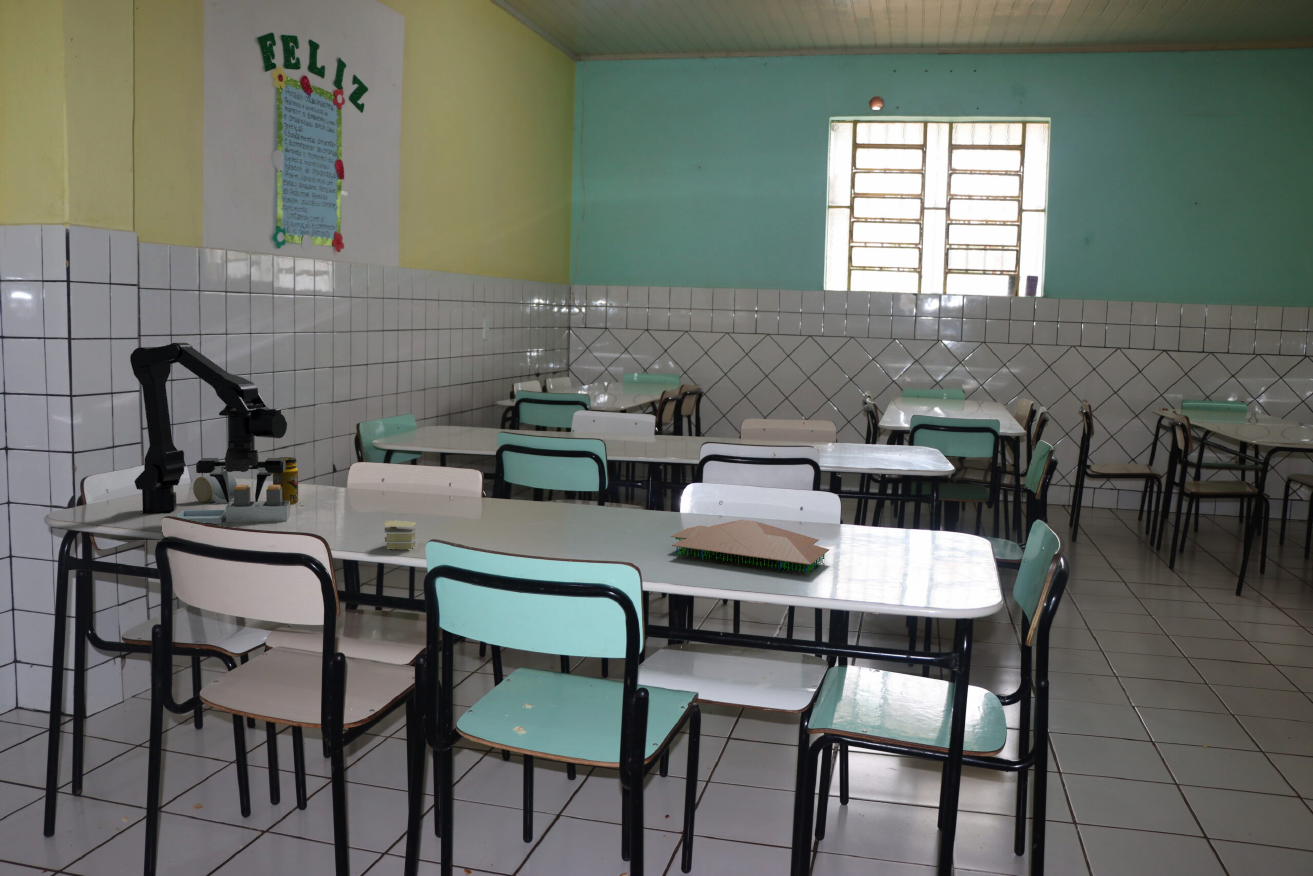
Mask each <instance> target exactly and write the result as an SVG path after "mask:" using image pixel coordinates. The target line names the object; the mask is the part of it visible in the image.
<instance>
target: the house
mask: <svg viewBox="0 0 1313 876" xmlns="http://www.w3.org/2000/svg"><path fill="white" fill-rule="evenodd" d="M670 538H674V539H675V540H679V541H677V542H675V543H672V544H671V547H676V552H675V553H676V555H677V556H678V555H679V554H680V555H681V556H682V552H683V553H684V552H685V551H686V550H687V551H688V550H689V549H690V550H691V553H692V552H693V550H697V551H698V554H697V556H701V557H700V559H701V558H702V559H703V557H704V556H706V558H705V559H706V560H707V558H708V557H709V558H708V560H710V558H711V553H712V554H713V553H716V555H715V559H716V560H717V559H718V557H717V553H719V552H720V556H719V557H721V556H722V555H721V553H723V554H727V556H726V562H727V561H728V560H730V561H732V558H729V555H730V557H733V556H732V555H734V556H736V555H738V556H737V557H738V558H737V559H736V561H738V562H737V564H738V563H739V562H740V558H739V557H740V556H741V559H743V556H744V557H749V559H748V564H751V563H752V564H754V563H755V561H754V558H756V559H758V558H759V559H764V563H763V567H764V566H766V565H767V566H770V567H773V566H775V567H776V564H775V565H774V564H769V563H770V561H769V560H771V562H773V560H774V561H778V562H779V570H780V569H781V568H782V567H783V568H784V569H785V570H786V569H787V570H789V569H790V563H792V565H791V568H793V569H794V570H797V567H793V565H794V564H795V566H797V564H800V565H803V566H804V565H805V566H806V565H807V568H803V569H802V568H800V571H801V570H802V571H806V572H807V573H808V572H809V571H810V570H811V569H812V568H813V567H815V566H816V565H817V566H818V563H819V562H822V561H823V559H824V560H825V555H826V553H828V552H829V551H831V550H830V549H829V548H826V547H822V546H819V545H815V544H816V543H817V542H819V541H820V539H819V538H815V537H811V536H807V535H804V534H801V533H797V532H794V531H789V530H787V529H783V528H780V527H777V526H773V525H769V524H766V523H763V522H758V521H755V520H749V519H737V520H734V521H728V522H724V523H719V524H714V525H710V526H707V525H697V526H692V527H687V528H685V529H683V530H681V531H678V532H677V533H674V534H672V535H670ZM680 548H681V549H682V551H680ZM683 549H684V551H683ZM706 551H707V554H706ZM710 551H711V553H710ZM703 552H704V554H703ZM699 553H700V554H699ZM708 554H709V556H708ZM676 555H675V556H676ZM686 555H687V556H688V557H689V552H687V553H686ZM693 555H694V557H695V558H696V553H693ZM694 557H693V558H694ZM751 558H752V559H753V560H752V561H751ZM722 559H723V560H725V557H723V558H722ZM766 559H767V560H768V561H767V562H768V563H767V564H766ZM716 560H715V561H716ZM743 562H745V563H747V560H745V561H744V560H743ZM758 564H759V565H760V566H761V567H762V562H757V565H758ZM786 564H788V567H787V566H786Z"/></svg>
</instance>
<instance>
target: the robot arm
mask: <svg viewBox="0 0 1313 876" xmlns="http://www.w3.org/2000/svg"><path fill="white" fill-rule="evenodd" d="M129 357H130V358H129V362H130V365H131V369H132V373H133V375H134V376H135V378H136V379H137V380H138V382H139V384H140V385H141V386H142V394H143V395H142V396H143V402H144V411H145V418H146V426H147V428H146V429H147V434H148V442H149V443H148V444H149V447H148V449H147V451H146V455H145V457H144V460H143V461H144V468H143V470H142V471H141V473H140V474H139V475H138V476H137V477H136V479H135V480H134V485H135V488H136V490H139V491H140V490H141V498H142V499H141V500H142V511H141V512H140V515H145V514H146V515H149V514H151V515H154V514H158V515H159V514H161V515H162V514H172V512H175V510H177V507H178V506H177V492H176V491H174V486H178V485H179V484H180V482H181V481H180V480H181V477H182V476H183V475H184V473H185V467H187V464H186V462H185V451H184V450H183V449H180V450H178V449H177V447H176V446H175V444H174V442H173V435H172V434H173V433H172V426H171V420H170V409H169V403H168V402H169V401H168V393H167V382H168V378H169V377H170V375H171V369H172V368H171V367H172V366H171V365H173V364H174V365H175V364H177V363H179V364H180V365H181V366H183V367H184V368H185V369H186V370H188V371H190V372H191V373H192V374H194V375H195V376H197V377H198V378H200V379H201V380H202V381H204V382H205V383H206V384H208V385H210V386H211V388H213V389H214V391H215V394H216V396H217V397H218V398H219V399H220V400H221V401H222V402H223V403H224V404H225V407H224V408H223V409H222V410H221V411H219V412H218V415H219V416H222V417H223V416H225V417H227V449H226V452H225V456H224V461H222V460H219V457H202V458H201V459H199V460H198V461H197V462H195V463H196V464H195V467H196V468H195V471H196V472H195V473H196V474H210V476H211V477H215V478H216V479H217V481H218V482H219V484H220V486H221V488H222V491H223V494H224V496H225V499H226V501H227V502H229V499H230V493H229V483H228V473H227V472H230V473H232V472H241V473H245V472H248V471H249V470H258V473H257V474H256V485H255V493H254V501H255V502H257V501H259V499H260V495H261V492H262V489H263V486H264V484H265V481H266V479H267V478H268V477H271V476H273V473H282V472H284V471H285V469H286V462H285V459H284V458H279V457H267V458H266V459H265V461H264V460H263V461H261V460H260V461H259V453H258V449H255V447H256V446H255V442H256V439H255V438H268V439H281V438H283V437H284V436H285V435H286V432H287V428H288V422H287V420H286V417H285V415H283V413H282V409H281V408H269V406H268V405H267V404H266V401H264V399H263V397H262V396H261V394H260V393H259V388H258V386H257V385H256V384H255V383H254V382H253V381H251V380H249V379H247V378H244V377H241V376H238V375H235V374H232V373H230V372H228V371H226V370H225V369H223V368H222V367H221V366H219V365H218V364H217V363H215V362H213V361H212V360H211V359H210V358H208V357H206V355H203V353H201V352H199V351H198V350H197V349H196V348H194V347H193V346H192V345H191V344H190V343H188V342H172V343H170V344H166V345H161V346H144V347H143V346H139V347H137V348H135V349H134V350H133V351H132V353H131V354H130V356H129Z"/></svg>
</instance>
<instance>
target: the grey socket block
mask: <svg viewBox="0 0 1313 876" xmlns="http://www.w3.org/2000/svg"><path fill="white" fill-rule="evenodd" d="M225 510H226V518H225V523H251V522H252V523H257V522H258V523H259V522H262V523H265V522H287V521H289V519H290V517H291V505H290V501H282V506H267V504H266V500H258V501H257V502H255V500H251V506H234V501H231V502H230V503H228V504H226V506H225Z"/></svg>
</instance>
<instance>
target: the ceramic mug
mask: <svg viewBox="0 0 1313 876" xmlns="http://www.w3.org/2000/svg"><path fill="white" fill-rule="evenodd" d="M227 473H228V483H229V493H230V499H229V502H227V501H226V499H225V496H224V494H223V491H222V488H221V486H220V484H219V482H218V481H217V479H216V478H215V477H211V476H210V474H211V473H206V474H204V475H201V476H199V477H197V478H195V480H194V482H193V488H192V489H193V491H192V492H193V494H194V497H195V499H196V500H197V501H198V502H199V503H201V504H215V503H216V504H218V505H225V504H226V505H228V504H229V503H230V502H231V501H234V489H235V487H236V486H237V485H238V483H237V481H236V478H235V476H234V475H233V474H232V472H227Z"/></svg>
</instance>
